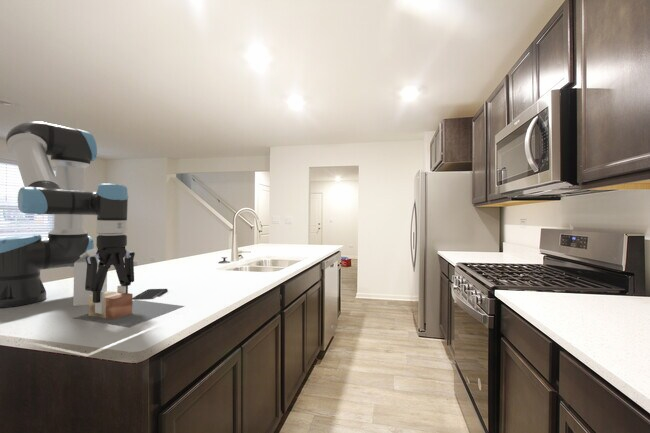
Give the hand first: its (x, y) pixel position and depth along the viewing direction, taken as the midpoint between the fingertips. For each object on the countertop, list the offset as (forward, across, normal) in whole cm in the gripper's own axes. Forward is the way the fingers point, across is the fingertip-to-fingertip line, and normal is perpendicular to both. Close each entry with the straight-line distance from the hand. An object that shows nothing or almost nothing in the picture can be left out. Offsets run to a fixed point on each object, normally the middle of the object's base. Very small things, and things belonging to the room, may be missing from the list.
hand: (110, 309), depth 89 cm
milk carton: (+2, +7, +19) cm, 20 cm away
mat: (+2, +4, -4) cm, 6 cm away
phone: (+3, +22, +9) cm, 24 cm away
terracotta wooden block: (+1, 0, 0) cm, 1 cm away
